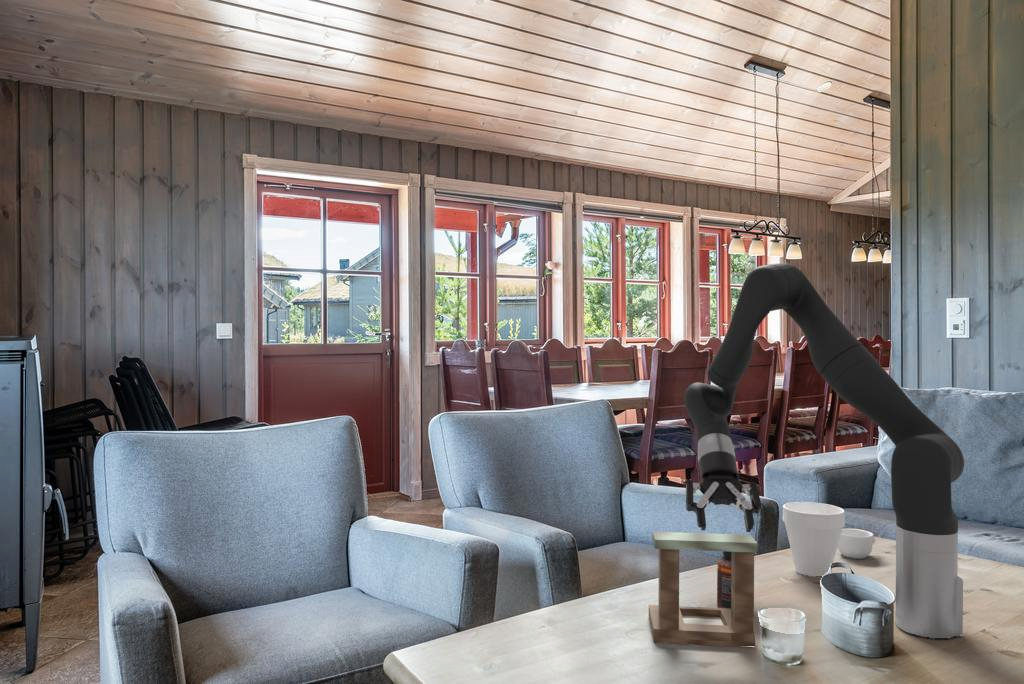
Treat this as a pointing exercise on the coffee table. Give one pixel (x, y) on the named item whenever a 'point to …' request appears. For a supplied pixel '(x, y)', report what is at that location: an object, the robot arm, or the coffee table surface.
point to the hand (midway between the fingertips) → (726, 529)
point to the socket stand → (702, 621)
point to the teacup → (856, 543)
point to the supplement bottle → (724, 581)
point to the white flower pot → (813, 535)
